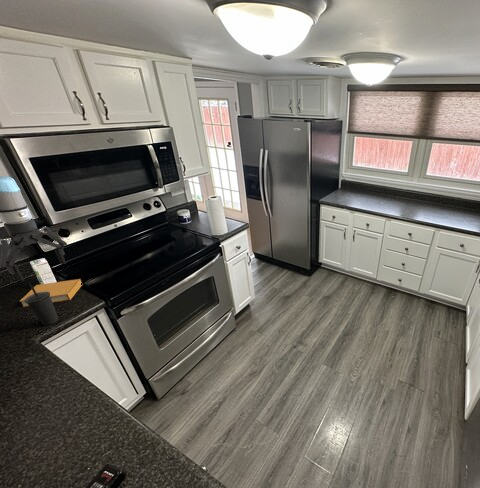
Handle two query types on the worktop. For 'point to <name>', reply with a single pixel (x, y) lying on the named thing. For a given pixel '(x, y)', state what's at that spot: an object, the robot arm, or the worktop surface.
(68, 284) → the book
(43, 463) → the worktop surface
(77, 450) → the worktop surface
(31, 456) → the worktop surface
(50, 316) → the drinking cup
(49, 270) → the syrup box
